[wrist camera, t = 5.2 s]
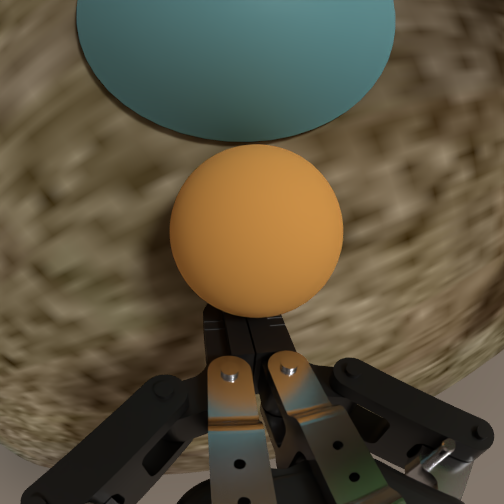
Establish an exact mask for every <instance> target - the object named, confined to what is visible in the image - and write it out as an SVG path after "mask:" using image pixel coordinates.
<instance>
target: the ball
mask: <svg viewBox="0 0 504 504" xmlns="http://www.w3.org/2000/svg"><path fill="white" fill-rule="evenodd" d="M342 242H343V222H342V215H341V211H340V207H339V203H338V201H337V198H336V196H335V194H334V191H333V190H332V188H331V186H330V185H329V183H328V181H327V180H326V179H325V178H324V176H323V175H322V174H321V173H320V172H319V171H318V170H317V169H316V168H315V167H314V166H313V165H312V164H311V163H309V162H308V161H307V160H305V159H304V158H302V157H301V156H299V155H297V154H295V153H293V152H291V151H288V150H285V149H282V148H280V147H275V146H269V145H262V144H252V145H243V146H237V147H234V148H230V149H227V150H224V151H222V152H220V153H218V154H216V155H214V156H212V157H211V158H209V159H208V160H206V161H205V162H203V163H202V164H201V165H200V166H199V167H197V168H196V169H195V170H194V172H193V173H192V174H191V175H190V176H189V177H188V178H187V180H186V181H185V183H184V184H183V186H182V187H181V189H180V191H179V193H178V195H177V197H176V200H175V203H174V206H173V209H172V214H171V219H170V244H171V249H172V253H173V257H174V260H175V262H176V265H177V267H178V269H179V271H180V273H181V275H182V276H183V278H184V280H185V281H186V282H187V284H188V285H189V286H190V288H191V289H192V290H193V291H194V292H195V293H196V294H197V295H198V296H199V297H201V298H202V299H203V300H204V301H206V302H207V303H209V304H210V305H212V306H213V307H215V308H217V309H219V310H222V311H224V312H226V313H229V314H232V315H236V316H242V317H250V318H263V317H272V316H277V315H280V314H283V313H286V312H289V311H291V310H294V309H296V308H297V307H299V306H301V305H302V304H304V303H306V302H307V301H308V300H310V299H311V298H312V297H313V296H314V295H316V294H317V293H318V292H319V291H320V289H321V288H322V287H323V286H324V285H325V284H326V282H327V281H328V279H329V278H330V276H331V275H332V273H333V271H334V269H335V266H336V264H337V262H338V259H339V256H340V253H341V248H342Z"/></svg>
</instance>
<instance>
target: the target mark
mask: <svg viewBox="0 0 504 504" xmlns="http://www.w3.org/2000/svg"><path fill="white" fill-rule="evenodd" d="M77 29H78V35H79V40H80V44H81V47H82V49H83V52H84V55H85V57H86V60H87V61H88V63H89V65H90V66H91V68H92V70H93V72H94V73H95V75H96V76H97V78H98V79H99V80H100V81H101V82H102V84H103V85H104V86H105V87H106V88H107V90H108V91H109V92H111V93H112V94H113V95H114V96H115V97H116V98H117V99H118V100H119V101H121V102H122V103H123V104H124V105H126V106H127V107H129V108H130V109H132V110H133V111H135V112H136V113H138V114H139V115H141V116H142V117H144V118H146V119H148V120H150V121H152V122H154V123H156V124H158V125H160V126H163V127H166V128H169V129H172V130H174V131H177V132H180V133H183V134H187V135H192V136H196V137H200V138H204V139H212V140H220V141H232V142H254V141H265V140H274V139H279V138H284V137H289V136H294V135H297V134H300V133H303V132H306V131H309V130H312V129H315V128H317V127H319V126H321V125H323V124H325V123H328V122H330V121H332V120H333V119H335V118H337V117H338V116H340V115H341V114H343V113H345V112H346V111H348V110H349V109H350V108H351V107H352V106H354V105H355V104H356V103H357V102H359V101H360V100H361V99H362V98H363V97H364V96H365V94H366V93H367V92H368V91H369V90H370V89H371V88H372V87H373V85H374V84H375V82H376V81H377V79H378V78H379V76H380V75H381V73H382V71H383V69H384V67H385V65H386V63H387V61H388V59H389V55H390V52H391V49H392V46H393V40H394V34H395V10H394V3H393V0H78V3H77Z"/></svg>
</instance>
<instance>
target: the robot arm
mask: <svg viewBox="0 0 504 504" xmlns="http://www.w3.org/2000/svg"><path fill="white" fill-rule="evenodd" d="M203 324H204V344H205V354H206V364H207V365H206V368H205V369H204V370H203V371H202V373H200V374H199V375H197V376H195V377H193V378H190V379H187V380H184V381H182V380H180V379H179V378H177V377H175V376H172V375H158V376H155V377H153V378H151V379H149V380H148V381H147V382H146V383H145V384H144V385H143V386H142V387H141V388H139V389H138V390H137V391H136V392H135V393H134V394H133V395H132V396H131V397H130V398H129V399H128V400H126V401H125V402H124V403H123V404H122V405H121V406H120V407H119V408H118V409H117V410H116V411H114V412H113V413H112V414H111V415H110V416H109V417H108V418H107V419H106V420H105V421H103V422H102V423H101V424H100V425H99V426H98V427H97V428H96V429H95V430H94V431H92V432H91V433H90V434H89V435H88V436H87V437H86V438H85V439H83V440H82V441H81V442H80V443H79V444H78V445H77V446H76V447H74V448H73V449H72V450H71V451H70V452H69V453H68V454H67V455H65V456H64V457H63V458H62V459H61V460H60V461H59V462H57V463H56V464H55V465H54V466H53V467H52V468H51V469H49V471H47V472H46V473H45V474H44V475H42V476H41V477H40V478H39V479H38V480H37V481H36V482H34V483H33V484H32V485H31V486H30V487H28V488H27V489H26V490H25V491H24V493H23V494H22V497H21V504H136V503H137V502H138V501H139V500H140V499H141V498H142V497H143V496H144V495H145V494H146V493H147V492H148V491H149V490H150V488H151V487H152V486H153V485H154V484H155V483H156V482H157V481H158V480H159V479H160V477H161V476H162V475H163V474H164V473H165V472H166V471H167V470H168V468H169V467H170V466H171V465H172V464H173V463H174V462H175V460H176V459H177V458H178V457H179V456H180V455H181V453H182V452H183V451H184V450H185V449H186V448H187V446H188V445H189V444H190V443H191V441H192V440H193V438H196V437H198V436H201V435H204V434H207V433H208V442H209V466H210V479H208V480H206V481H203V482H201V483H199V484H198V485H196V486H194V487H193V488H191V489H190V490H189V491H187V492H186V493H185V494H184V495H183V496H182V497H181V499H180V500H179V501H178V502H177V504H464V502H462V501H461V498H462V496H463V493H464V490H465V487H466V484H467V481H468V478H469V475H470V472H471V469H472V465H473V462H474V460H475V459H476V458H478V457H479V456H480V455H481V454H482V453H483V452H485V451H486V450H487V449H488V448H490V446H491V445H492V444H493V441H494V432H493V429H492V427H491V426H490V424H489V423H488V422H486V421H485V420H483V419H481V418H479V417H476V416H474V415H472V414H469V413H467V412H465V411H463V410H461V409H459V408H456V407H454V406H452V405H450V404H448V403H445V402H443V401H441V400H439V399H437V398H435V397H433V396H431V395H429V394H427V393H425V392H423V391H420V390H418V389H416V388H414V387H412V386H410V385H408V384H406V383H404V382H402V381H400V380H398V379H396V378H394V377H392V376H390V375H388V374H386V373H384V372H382V371H380V370H378V369H376V368H375V367H373V366H371V365H369V364H367V363H365V362H363V361H361V360H359V359H356V358H343V359H341V360H339V361H337V362H336V364H335V365H334V367H328V366H318V365H313V364H310V363H308V361H307V359H306V358H305V357H304V356H302V355H301V354H299V353H297V352H296V350H295V347H294V345H293V343H292V340H291V338H290V335H289V333H288V330H287V328H286V326H285V323H284V321H283V318H282V316H281V314H280V315H277V316H272V317H263V318H250V317H242V316H236V315H232V314H229V313H226V312H224V311H222V310H219V309H217V308H215V307H213V306H212V305H210V304H209V303H207V305H206V307H205V309H204V311H203ZM255 394H259V395H260V399H261V404H260V412H261V415H262V418H263V421H264V423H265V426H266V429H267V432H268V434H269V437H270V440H271V443H272V445H273V448H274V451H275V457H276V466H277V469H272V468H271V467H270V461H269V455H268V449H267V443H266V437H265V431H264V427H263V423H262V422H261V421H259V417H258V411H257V404H256V397H255ZM357 404H358V405H357ZM359 405H360V406H359ZM361 406H362V407H361ZM363 407H364V408H363ZM365 408H366V409H365ZM367 409H368V410H369V411H368V410H367ZM370 411H371V412H370ZM372 412H373V413H372ZM374 413H375V414H374ZM376 414H377V415H376ZM378 415H379V416H378ZM380 416H381V417H380ZM382 417H383V418H382ZM370 453H372V454H374V455H376V456H378V457H381V458H382V459H384V460H386V461H388V462H390V463H392V464H394V465H397V466H399V467H401V468H403V469H405V474H403V473H401V472H399V471H397V470H395V469H393V468H391V467H390V466H388V465H386V464H384V463H382V462H380V461H378V460H376V459H374V458H373V457H372V455H371V454H370Z"/></svg>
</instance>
